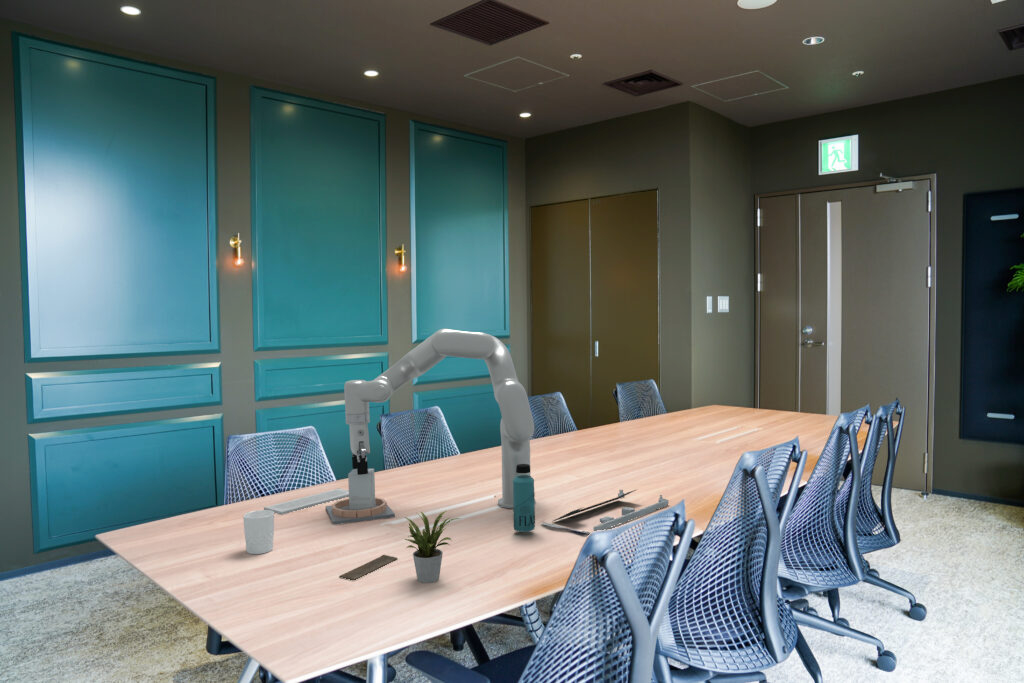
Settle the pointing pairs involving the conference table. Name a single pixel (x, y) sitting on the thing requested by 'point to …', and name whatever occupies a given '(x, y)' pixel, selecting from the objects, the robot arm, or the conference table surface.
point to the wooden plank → (368, 567)
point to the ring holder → (358, 512)
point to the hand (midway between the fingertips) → (360, 471)
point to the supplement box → (361, 490)
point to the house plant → (427, 549)
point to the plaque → (308, 501)
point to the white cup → (259, 531)
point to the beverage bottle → (523, 500)
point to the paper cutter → (610, 521)
